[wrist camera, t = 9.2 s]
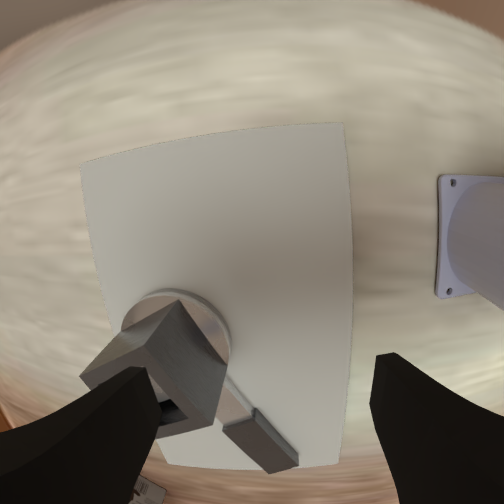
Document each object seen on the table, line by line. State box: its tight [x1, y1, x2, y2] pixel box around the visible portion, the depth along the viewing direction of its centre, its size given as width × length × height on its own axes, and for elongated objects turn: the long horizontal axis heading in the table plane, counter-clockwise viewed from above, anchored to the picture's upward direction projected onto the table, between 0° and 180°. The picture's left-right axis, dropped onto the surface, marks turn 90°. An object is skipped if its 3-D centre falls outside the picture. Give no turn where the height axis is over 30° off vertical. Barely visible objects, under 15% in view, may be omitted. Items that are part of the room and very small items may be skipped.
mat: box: [80, 122, 353, 470], centre depth 18 cm, size 16×27×1 cm, turn 6°
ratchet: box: [121, 288, 299, 474], centre depth 17 cm, size 7×18×5 cm, turn 31°
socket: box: [79, 299, 228, 439], centre depth 14 cm, size 5×5×5 cm
